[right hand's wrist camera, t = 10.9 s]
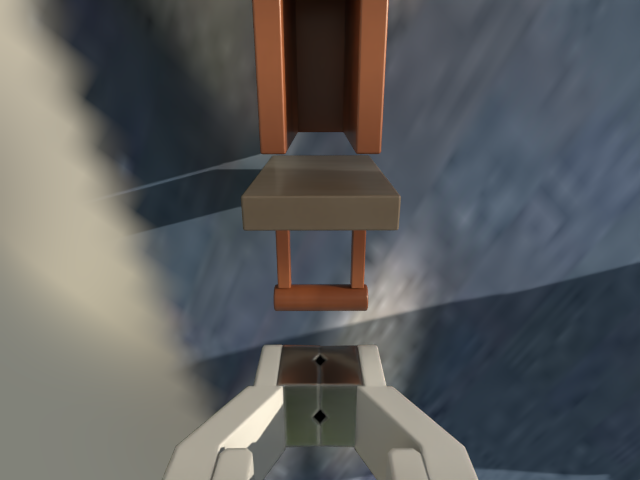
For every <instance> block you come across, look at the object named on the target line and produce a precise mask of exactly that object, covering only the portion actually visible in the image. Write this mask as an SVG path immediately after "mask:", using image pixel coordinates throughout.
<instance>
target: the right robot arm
mask: <svg viewBox="0 0 640 480" xmlns="http://www.w3.org/2000/svg"><path fill="white" fill-rule="evenodd" d="M306 446H333V447H355V450H356V451H357V453H358V454H359V456H360V457H361V458H362V460H363V461H364V462H365V464H366V465H367V467H368V468H369V469H370V471H371V472H372V474H373V475H374V476H375V478H376V479H377V480H478V478H477V475H476V473H475V471H474V468H473V466H472V463H471V461H470V458H469V456H468V453H467V451H466V449H465V447H464V446H463V445H462V444H461V443H460V442H458V441H457V440H456V439H455V438H454V437H452V436H451V435H450V434H449V433H448V432H446V431H445V430H444V429H443V428H442V427H440V426H439V425H438V424H437V423H436V422H434V421H433V420H432V419H431V418H430V417H428V416H427V415H426V414H425V413H424V412H422V411H421V410H420V409H419V408H418V407H416V406H415V405H414V404H413V403H412V402H410V401H409V400H408V399H407V398H406V397H405V396H403V395H402V394H401V393H400V392H399V391H397V390H396V389H395V388H394V387H393V386H386V382H385V377H384V373H383V369H382V365H381V360H380V356H379V352H378V347H377V346H376V345H357V346H316V345H264V346H263V348H262V351H261V356H260V360H259V364H258V369H257V373H256V377H255V382H254V386H247V387H246V388H245V389H244V390H243V391H241V392H240V393H239V394H238V395H237V396H235V397H234V398H233V399H232V400H231V401H229V402H228V403H227V404H226V405H225V406H223V407H222V408H221V409H220V410H219V411H217V412H216V413H215V414H214V415H213V416H211V417H210V418H209V419H208V420H207V421H205V422H204V423H203V424H202V425H201V426H199V427H198V428H197V429H196V430H195V431H193V432H192V433H191V434H190V435H189V436H187V437H186V438H185V439H184V440H183V441H181V442H180V443H179V444H178V445H177V446H176V447H175V449H174V452H173V454H172V456H171V459H170V461H169V464H168V466H167V468H166V471H165V473H164V476H163V478H162V480H264V478H265V477H266V475H267V474H268V473H269V471H270V470H271V468H272V467H273V466H274V464H275V463H276V462H277V460H278V459H279V457H280V456H281V455H282V453H283V452H284V450H285V447H306Z"/></svg>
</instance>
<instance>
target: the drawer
mask: <svg viewBox="0 0 640 480" xmlns="http://www.w3.org/2000/svg"><path fill="white" fill-rule="evenodd" d="M388 4H389V0H252V6H253V25H254V43H255V61H256V79H257V97H258V116H259V134H260V152H261V154H285V153H286V151H287V150H288V148H289V146H290V145H291V143H292V141H293V139H294V138H295V136H296V134H297V133H298V132H344V134H345V135H346V137H347V139H348V140H349V142H350V144H351V145H352V147H353V149H354V150H355V152H356V153H357V154H379V153H380V152H381V140H382V120H383V101H384V82H385V62H386V43H387V23H388ZM400 201H401V197H400V195H399V194H398V192H397V191H396V190H395V189H394V187H393V186H392V185H391V183H390V182H389V181H388V180H387V178H386V177H385V176H384V174H383V173H382V172H381V171H380V169H379V168H378V167H377V165H376V164H375V163H374V162H373V160H372V159H371V158H370V156H368V155H338V156H272V157H271V158H270V160H269V161H268V162H267V164H266V165H265V166H264V167H263V169H262V170H261V171H260V173H259V174H258V175H257V177H256V178H255V179H254V180H253V182H252V183H251V184H250V186H249V187H248V188H247V190H246V191H245V192H244V193H243V195H242V196H241V206H242V219H243V229H244V230H246V231H254V230H276V251H277V274H278V285H275V288H274V309H275V311H366V310H367V308H368V289H367V285H365V284H364V268H365V244H366V230H398V228H399V215H400ZM290 230H352V245H351V281H350V283H351V284H306V285H291V257H290Z"/></svg>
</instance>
